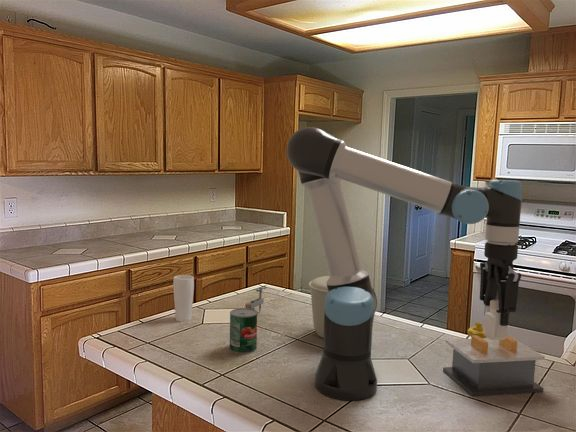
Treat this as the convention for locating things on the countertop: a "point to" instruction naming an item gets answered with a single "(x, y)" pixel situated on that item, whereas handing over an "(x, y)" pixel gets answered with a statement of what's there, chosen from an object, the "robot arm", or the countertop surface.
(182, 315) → the drinking glass
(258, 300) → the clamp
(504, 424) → the countertop surface
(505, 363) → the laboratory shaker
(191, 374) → the countertop surface
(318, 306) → the canister
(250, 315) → the canned tomato
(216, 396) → the countertop surface
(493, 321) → the pepper shaker
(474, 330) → the pressure relief valve
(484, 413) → the countertop surface
